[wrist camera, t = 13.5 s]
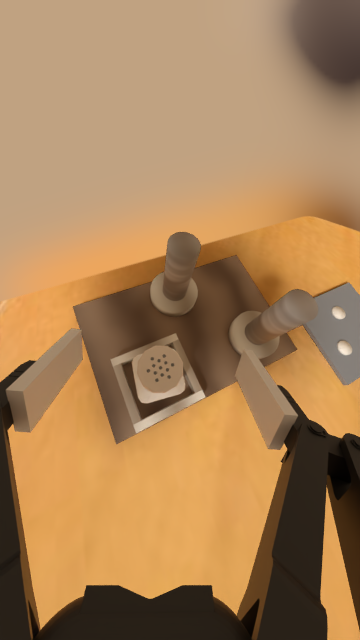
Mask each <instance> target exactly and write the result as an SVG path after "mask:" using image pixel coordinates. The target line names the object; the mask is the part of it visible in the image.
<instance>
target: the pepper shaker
mask: <svg viewBox="0 0 360 640" xmlns="http://www.w3.org/2000/svg"><path fill="white" fill-rule="evenodd" d="M132 367H133V373H134V379H135V385H136V390H137V395H138V398H139V400H140V401H141V403H150V402H154V401H157V400H161V399H165V398H168V397H172V396H175V395H179V394H181V393H182V392H183V391H184V390H185V380H184V376H183V361H182V360H181V358H180V356H179V354H178V353H177V352H176V351H175V350H174V349H172V348H170V347H168V346H154V347H152V348H150V349H148V350H146V351H144V353H143V354H139V355H137V356H136V357H134V358H133V361H132Z"/></svg>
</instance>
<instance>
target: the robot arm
mask: <svg viewBox="0 0 360 640" xmlns="http://www.w3.org/2000/svg"><path fill="white" fill-rule="evenodd" d="M82 360H83V357H82V330H79V329H70V330H69V331H68V332H67V333H66V334H65V335H64V336H63V337H62V338H61V339H59V340H58V341H57V342H56V343H55V344H54V345H53V346H52V347H51V348H50V349H49V350H48V351H47V352H46V353H45V354H43V355H42V356H41V357H40V358H39V359H38V360H37V361H31V360H30V361H28V362H26V363H24V364H21V365H20V366H19V367H18V368H17V369H15V370H14V372H12V373H11V374H10V375H9V376H8V377H6V378H5V379H4V380H3V381H1V382H0V640H327V614H326V609H325V608H324V607H323V605H322V604H321V600H320V589H321V572H322V555H323V537H324V520H325V503H326V485H327V489H328V493H329V498H330V502H331V506H332V511H333V515H334V520H335V524H336V528H337V533H338V537H339V542H340V546H341V550H342V555H343V559H344V564H345V568H346V572H347V577H348V581H349V586H350V590H351V594H352V599H353V603H354V608H355V612H356V616H357V621H358V625H359V630H360V437H358V436H356V435H353V434H350V433H347V434H345V435H344V436H343V437H342V439H341V438H338V437H335V436H332V435H329V434H328V433H327V431H326V430H325V429H324V428H323V427H322V426H321V425H319V424H318V423H316V422H314V421H311V420H309V419H308V418H307V416H306V415H305V414H304V412H303V411H302V410H301V408H300V407H299V406H298V404H297V403H296V402H295V400H294V399H293V398H292V396H291V395H290V394H289V392H288V391H287V390H286V389H285V388H283V387H282V386H280V385H276V383H275V382H274V380H273V379H272V378H271V376H270V375H269V373H268V372H267V370H266V369H265V368H264V366H263V365H262V363H261V362H260V360H259V359H258V358H257V356H256V355H255V353H254V352H253V350H247V349H243V352H242V355H241V358H240V362H239V365H238V368H237V371H236V374H235V377H236V379H237V381H238V383H239V386H240V388H241V390H242V392H243V394H244V397H245V399H246V401H247V403H248V406H249V408H250V410H251V412H252V414H253V417H254V419H255V421H256V423H257V426H258V428H259V430H260V432H261V434H262V437H263V439H264V441H265V443H266V446H267V448H268V449H277V450H280V449H281V447H282V446H283V444H284V443H285V445H286V447H287V451H286V453H285V455H284V457H283V459H282V460H281V462H282V463H283V464H282V467H281V471H280V474H279V478H278V481H277V485H276V488H275V492H274V495H273V499H272V502H271V506H270V509H269V513H268V516H267V520H266V523H265V527H264V531H263V534H262V538H261V541H260V545H259V548H258V552H257V555H256V559H255V562H254V566H253V569H252V573H251V576H250V580H249V583H248V587H247V590H246V592H245V595H244V597H243V600H242V602H241V605H240V607H239V610H238V613H237V616H236V615H235V613H234V612H233V611H232V610H231V609H230V608H229V607H228V606H227V605H225V604H224V603H223V602H222V601H220V600H219V599H217V598H215V597H213V592H212V585H182V586H180V587H178V588H176V589H173V590H171V591H169V592H167V593H164V594H162V595H160V596H158V597H155V598H153V599H148V598H145V597H143V596H141V595H139V594H136V593H134V592H132V591H130V590H127V589H125V588H123V587H121V586H119V585H86V590H85V594H84V596H83V597H80V598H78V599H76V600H74V601H73V602H71V603H69V604H68V605H66V606H65V607H64V608H63V609H61V610H60V611H59V612H58V613H57V614H56V615H54V616H53V617H52V618H51V619H50V620H49V621H48V622H47V623H46V625H45V626H44V627H43V628H42V629H41V630H40V624H39V618H38V612H37V607H36V602H35V597H34V592H33V587H32V581H31V575H30V568H29V562H28V556H27V549H26V543H25V537H24V531H23V524H22V518H21V512H20V505H19V499H18V493H17V487H16V480H15V474H14V468H13V461H12V455H11V449H10V443H9V436H8V432H7V430H8V429H9V428H10V427H11V425H12V424H13V425H14V429H15V431H18V432H31V431H32V430H33V428H34V427H35V426H36V424H37V423H38V421H39V420H40V419H41V417H42V416H43V414H44V413H45V412H46V410H47V409H48V407H49V406H50V404H51V403H52V402H53V400H54V399H55V397H56V396H57V395H58V393H59V392H60V390H61V389H62V388H63V386H64V385H65V383H66V382H67V381H68V379H69V378H70V376H71V375H72V374H73V372H74V371H75V369H76V368H77V367H78V365H79V364H80V362H81V361H82Z"/></svg>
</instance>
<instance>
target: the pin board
mask: <svg viewBox="0 0 360 640" xmlns="http://www.w3.org/2000/svg"><path fill="white" fill-rule="evenodd" d="M200 250H201V244H200V242H199V240H198V239H197V238H196V237H195V236H194V235H192V234H190V233H186V232H178V233H175V234H173V235H172V236H170V238H169V239H168V244H167V253H166V262H165V271H164V272H162V273H160V274H159V275H157V276H156V277H155V278H154V280H153V281H152V282H149V283H146V284H143V285H140V286H137V287H134V288H130V289H127V290H124V291H121V292H118V293H114V294H111V295H108V296H105V297H102V298H99V299H95V300H92V301H89V302H86V303H83V304H80V305H76V306H73V309H74V312H75V315H76V318H77V321H78V325H79V328H80V330H82V337H83V340H84V344H85V347H86V350H87V353H88V356H89V359H90V362H91V366H92V369H93V372H94V375H95V378H96V381H97V385H98V388H99V391H100V394H101V397H102V400H103V404H104V407H105V410H106V413H107V416H108V419H109V423H110V426H111V429H112V432H113V435H114V438H115V441H116V444H118V443H120V442H122V441H124V440H126V439H128V438H130V437H132V436H133V435H135V434H137V433H139V432H141V431H143V430H145V429H147V428H149V427H151V426H153V425H154V424H156V423H158V422H160V421H162V420H164V419H166V418H168V417H170V416H172V415H174V414H175V413H177V412H179V411H181V410H183V409H185V408H187V407H189V406H191V405H193V404H195V403H196V402H198V401H200V400H202V399H204V398H206V397H208V396H210V395H212V394H214V393H216V392H217V391H219V390H221V389H223V388H225V387H227V386H229V385H231V384H233V383H235V382H237V379H236V377H235V374H236V371H237V368H238V365H239V362H240V358H241V355H242V352H243V349H247V350H253V352H254V353H255V355H256V356H257V358H258V359H259V360H260V362H261V363H262V365H263V366H264V367H265V366H267V365H269V364H271V363H273V362H275V361H277V360H279V359H281V358H282V357H284V356H286V355H288V354H290V353H292V352H294V351H296V350H297V348H296V347H295V345H294V344H293V342H292V341H291V339H290V338H289V336H288V334H287V333H286V332H289V331H291V330H293V329H295V328H297V327H299V326H301V325H303V324H305V323H307V322H309V321H311V320H313V319H314V318H315V317H316V316H317V314H318V305H317V303H316V301H315V299H314V298H313V297H312V296H311V295H310V294H309V293H307V292H306V291H303V290H299V289H295V290H291V291H290V292H288V293H287V294H286V295H284V296H283V297H282V298H281V299H279V300H278V301H277V302H275V303H274V304H273V305H272V306H270V307H269V305H268V303H267V302H266V300H265V299H264V297H263V296H262V294H261V293H260V291H259V289H258V288H257V286H256V285H255V283H254V282H253V280H252V279H251V277H250V276H249V274H248V272H247V271H246V269H245V268H244V266H243V265H242V263H241V262H240V260H239V258H238V257H237V255H235V256H232V257H229V258H225V259H222V260H219V261H216V262H213V263H210V264H206V265H203V266H200V267H197V268H195V265H196V262H197V259H198V256H199V253H200ZM154 346H168V347H170V348H172V349H174V350H175V351H176V352H177V353H178V354H179V356H180V358H181V360H182V361H183V376H184V380H185V390H184V391H183V392H182V393H181V394H179V395H175V396H172V397H168V398H165V399H161V400H157V401H154V402H150V403H141V401H140V400H139V398H138V395H137V390H136V385H135V379H134V373H133V367H132V361H133V358H134V357H136V356H137V355H139V354H143V353H144V351H146V350H148V349H150V348H152V347H154Z"/></svg>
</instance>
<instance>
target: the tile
mask: <svg viewBox="0 0 360 640" xmlns="http://www.w3.org/2000/svg"><path fill="white" fill-rule="evenodd" d="M314 299H315V301H316V303H317V305H318V314H317V316H316V317H315V318H314V319H313V320H311V321H309V322H307V323H305V324H303V326H304V328H305V329H306V331H307V332H308V333H309V335H310V336H311V338H312V339H313V341H314V342H315V344H316V345H317V347H318V348H319V350H320V351H321V353H322V354H323V356H324V357H325V359H326V360H327V361H328V363H329V364H330V366H331V367H332V369H333V370H334V372H335V373H336V375H337V376H338V378H339V379H340V381H341V382H342V384H343V385H349V384H350V383H352V382H353V381H355V380H356V379H358V378H359V377H360V295H359V294H358V293H357V292H356V290H355V289H354V288H353V287H352V286H351V284H350V283H347V284H344V285H342V286H340V287H338V288H335V289H333V290H331V291H329V292H326V293H324V294H322V295H320V296H317V297H315V298H314Z"/></svg>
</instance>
